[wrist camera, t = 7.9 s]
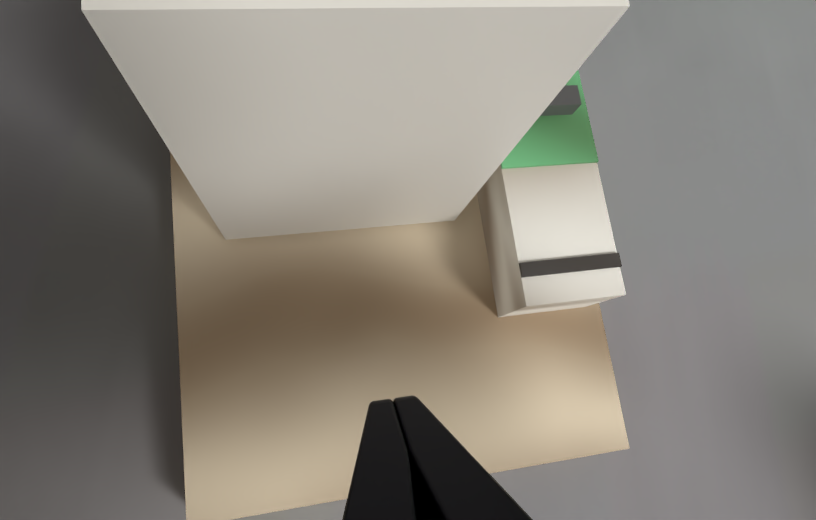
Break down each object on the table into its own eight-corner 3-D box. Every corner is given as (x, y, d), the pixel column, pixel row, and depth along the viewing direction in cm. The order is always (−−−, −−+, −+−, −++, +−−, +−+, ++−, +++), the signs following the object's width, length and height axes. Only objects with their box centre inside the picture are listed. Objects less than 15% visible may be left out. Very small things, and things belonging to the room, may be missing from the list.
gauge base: (604, 443, 18) (682, 458, 14) (198, 514, 16) (159, 556, 12) (497, -90, 23) (534, -188, 19) (168, -99, 20) (133, -214, 16)
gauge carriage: (550, 212, 18) (827, 4, 8) (225, 239, 16) (82, 10, 6) (511, 14, 19) (703, -358, 10) (211, 16, 17) (77, -445, 8)
